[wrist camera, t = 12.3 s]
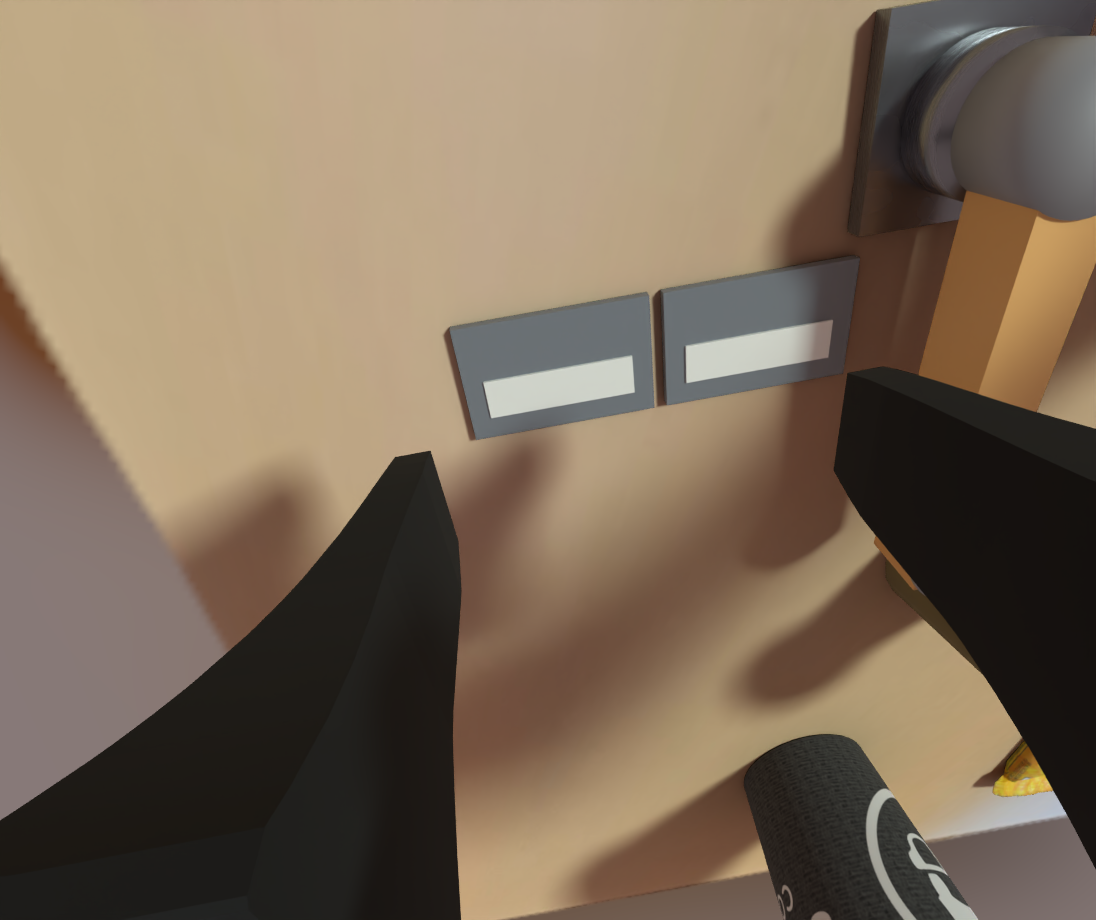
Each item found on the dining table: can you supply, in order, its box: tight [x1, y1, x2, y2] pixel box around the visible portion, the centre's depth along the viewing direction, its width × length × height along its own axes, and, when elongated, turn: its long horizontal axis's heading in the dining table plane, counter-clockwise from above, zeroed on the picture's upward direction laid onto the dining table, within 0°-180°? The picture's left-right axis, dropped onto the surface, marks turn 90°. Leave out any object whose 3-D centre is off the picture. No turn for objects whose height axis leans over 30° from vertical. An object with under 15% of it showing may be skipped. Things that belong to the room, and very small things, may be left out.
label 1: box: [450, 292, 654, 440], centre depth 18 cm, size 6×4×1 cm, turn 98°
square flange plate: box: [847, 0, 1096, 237], centre depth 15 cm, size 5×5×2 cm
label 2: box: [660, 255, 860, 405], centre depth 18 cm, size 6×4×1 cm, turn 98°
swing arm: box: [874, 36, 1096, 595], centre depth 16 cm, size 14×3×2 cm, turn 6°
